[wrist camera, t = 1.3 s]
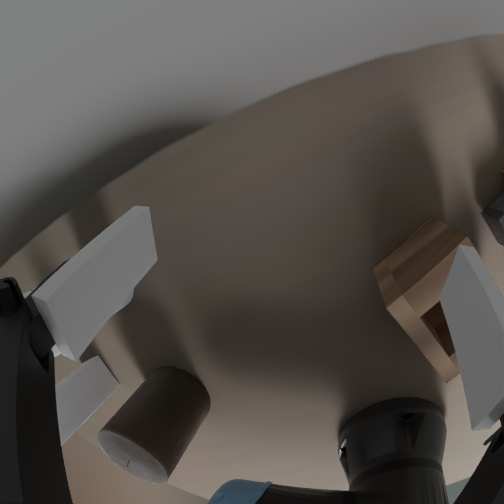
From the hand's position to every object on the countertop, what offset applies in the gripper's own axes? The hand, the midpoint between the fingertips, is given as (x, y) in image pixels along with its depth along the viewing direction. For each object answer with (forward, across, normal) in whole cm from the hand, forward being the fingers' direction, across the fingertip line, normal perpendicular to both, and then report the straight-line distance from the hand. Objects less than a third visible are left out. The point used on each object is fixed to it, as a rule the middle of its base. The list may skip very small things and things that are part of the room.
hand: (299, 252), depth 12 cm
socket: (+15, -13, +10) cm, 23 cm away
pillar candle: (+10, +15, +32) cm, 37 cm away
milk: (+10, +30, +34) cm, 46 cm away
